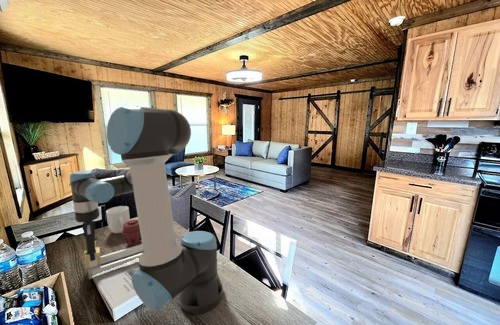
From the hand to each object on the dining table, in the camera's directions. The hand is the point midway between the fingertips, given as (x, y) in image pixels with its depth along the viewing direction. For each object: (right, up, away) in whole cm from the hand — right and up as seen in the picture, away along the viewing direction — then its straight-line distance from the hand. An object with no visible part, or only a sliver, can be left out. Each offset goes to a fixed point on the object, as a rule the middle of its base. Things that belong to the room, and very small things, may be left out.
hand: (93, 260), depth 87 cm
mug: (-9, +1, +33) cm, 34 cm away
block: (0, 0, -1) cm, 1 cm away
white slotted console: (+7, -3, +5) cm, 10 cm away
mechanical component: (+6, -1, +21) cm, 21 cm away
